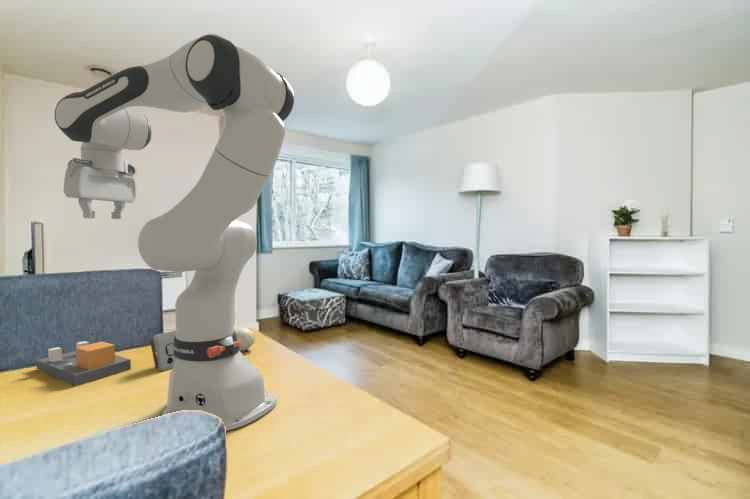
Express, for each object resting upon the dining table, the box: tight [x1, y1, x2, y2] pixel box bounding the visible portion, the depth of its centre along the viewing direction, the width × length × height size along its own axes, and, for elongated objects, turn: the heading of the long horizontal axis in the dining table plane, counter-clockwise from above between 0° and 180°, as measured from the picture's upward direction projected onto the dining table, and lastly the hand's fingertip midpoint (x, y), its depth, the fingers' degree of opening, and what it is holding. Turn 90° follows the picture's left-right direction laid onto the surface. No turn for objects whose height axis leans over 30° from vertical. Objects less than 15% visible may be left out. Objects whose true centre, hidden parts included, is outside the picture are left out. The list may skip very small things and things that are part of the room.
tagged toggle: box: [75, 340, 90, 348], centre depth 100 cm, size 2×2×3 cm
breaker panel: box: [36, 350, 132, 387], centre depth 96 cm, size 20×12×3 cm, turn 62°
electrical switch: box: [149, 329, 176, 372], centre depth 100 cm, size 9×5×9 cm, turn 152°
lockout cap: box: [75, 341, 116, 370], centre depth 93 cm, size 6×6×4 cm
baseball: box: [233, 327, 256, 352], centre depth 112 cm, size 7×7×7 cm
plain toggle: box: [47, 346, 63, 362], centre depth 94 cm, size 2×2×3 cm
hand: (103, 218), depth 95 cm, fingers open, 8 cm apart
